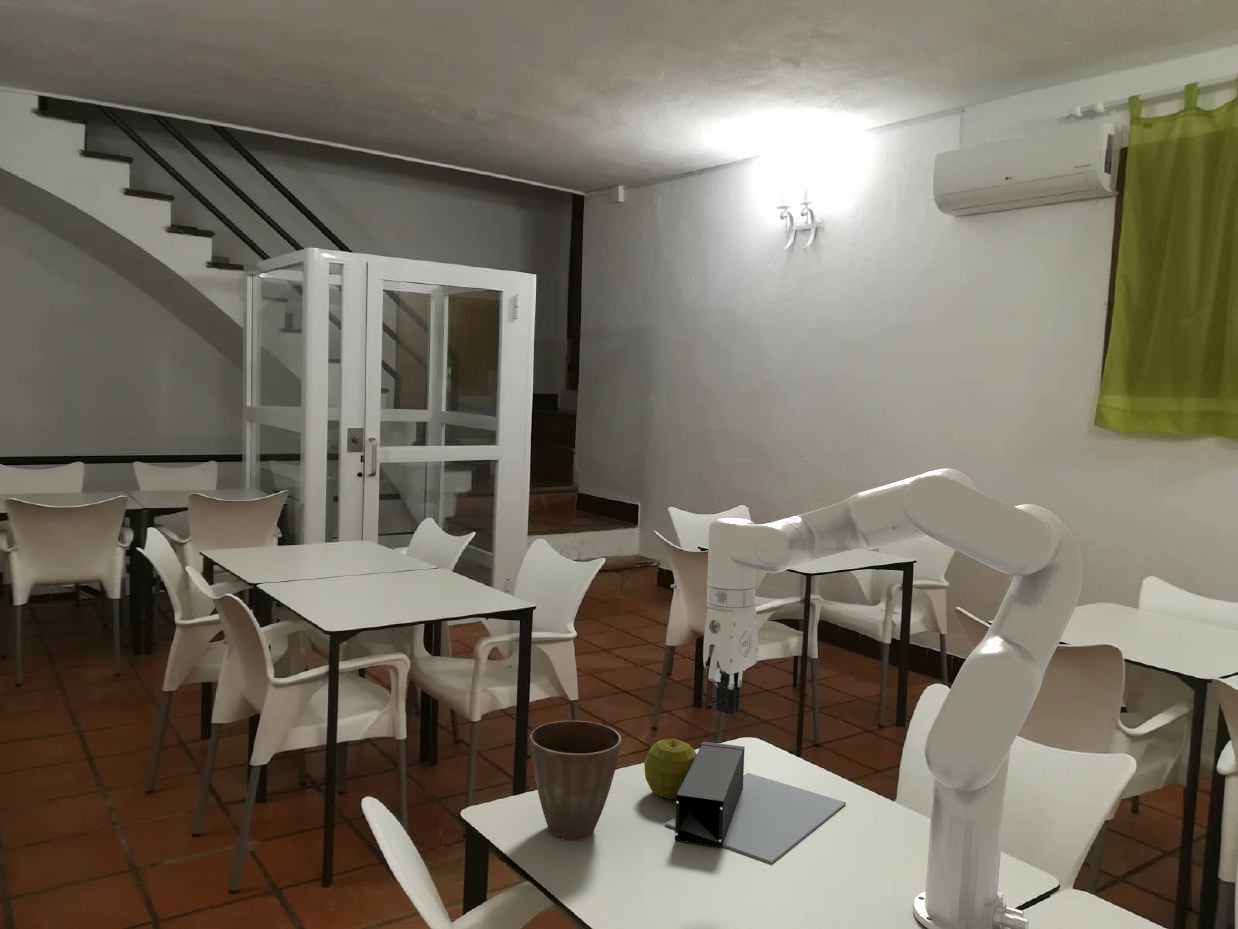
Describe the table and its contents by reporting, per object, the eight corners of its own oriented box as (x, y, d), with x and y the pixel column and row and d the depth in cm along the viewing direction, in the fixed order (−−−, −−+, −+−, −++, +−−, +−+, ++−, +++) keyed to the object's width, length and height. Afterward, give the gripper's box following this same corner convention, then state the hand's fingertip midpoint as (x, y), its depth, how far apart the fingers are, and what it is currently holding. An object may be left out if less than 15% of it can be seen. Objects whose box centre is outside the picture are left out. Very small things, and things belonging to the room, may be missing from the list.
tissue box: (723, 801, 154) (747, 740, 181) (675, 794, 156) (705, 735, 183) (721, 848, 154) (745, 781, 181) (673, 841, 156) (704, 775, 183)
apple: (636, 801, 171) (639, 741, 171) (650, 781, 181) (653, 724, 180) (691, 811, 169) (694, 749, 168) (703, 789, 178) (706, 731, 177)
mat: (845, 804, 174) (845, 802, 174) (771, 864, 151) (771, 861, 150) (747, 774, 186) (747, 772, 186) (664, 825, 162) (665, 823, 162)
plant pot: (635, 836, 158) (639, 741, 157) (560, 861, 149) (564, 760, 147) (581, 803, 170) (585, 715, 168) (509, 824, 160) (512, 730, 159)
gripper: (728, 608, 143) (724, 729, 144) (774, 593, 155) (770, 705, 156) (685, 601, 148) (682, 718, 149) (733, 587, 160) (730, 696, 161)
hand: (727, 711), depth 153 cm, fingers closed
